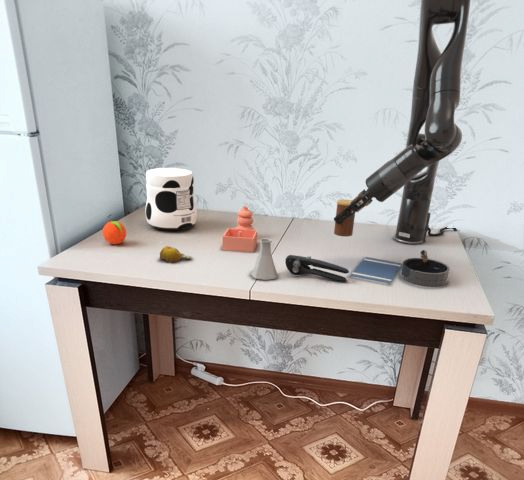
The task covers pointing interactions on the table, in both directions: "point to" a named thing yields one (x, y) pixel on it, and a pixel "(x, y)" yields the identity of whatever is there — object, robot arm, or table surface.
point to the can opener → (300, 267)
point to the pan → (425, 272)
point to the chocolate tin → (347, 225)
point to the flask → (264, 262)
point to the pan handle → (424, 255)
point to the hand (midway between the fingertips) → (338, 219)
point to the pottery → (241, 233)
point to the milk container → (170, 198)
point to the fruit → (171, 254)
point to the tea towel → (376, 270)
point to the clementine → (114, 232)
